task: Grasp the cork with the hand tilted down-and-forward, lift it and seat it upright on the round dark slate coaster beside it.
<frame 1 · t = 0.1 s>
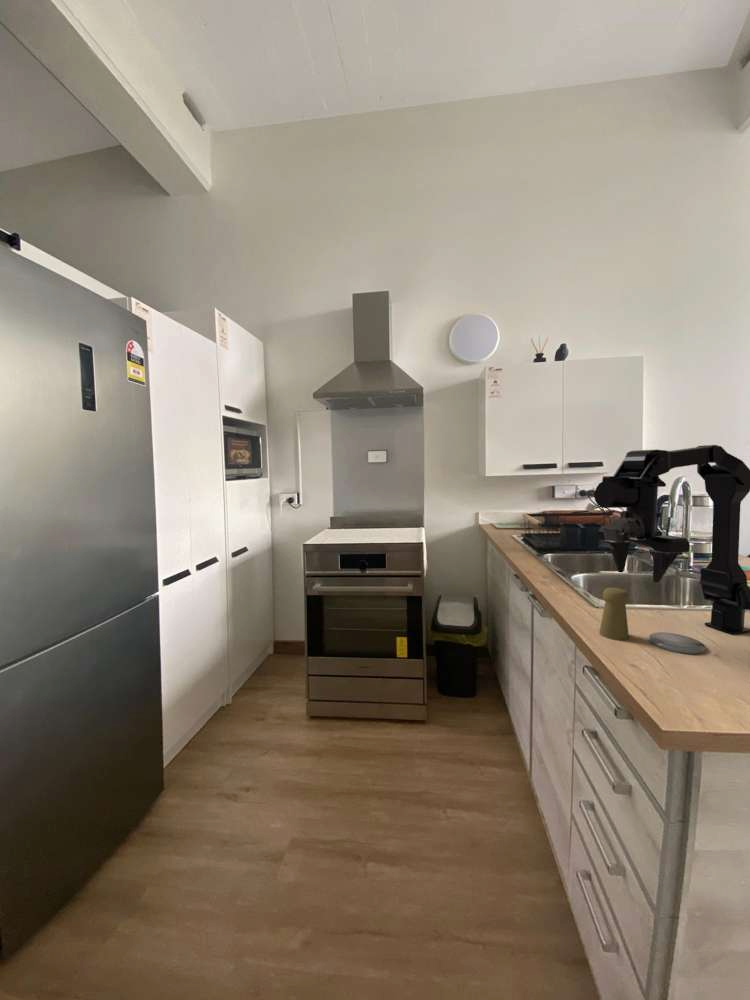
hand: (637, 577, 95), 15 cm above the table, tool pointing down, fingers open, 9 cm apart
coaster: (676, 644, 94), on the table
cork: (613, 636, 99), on the table
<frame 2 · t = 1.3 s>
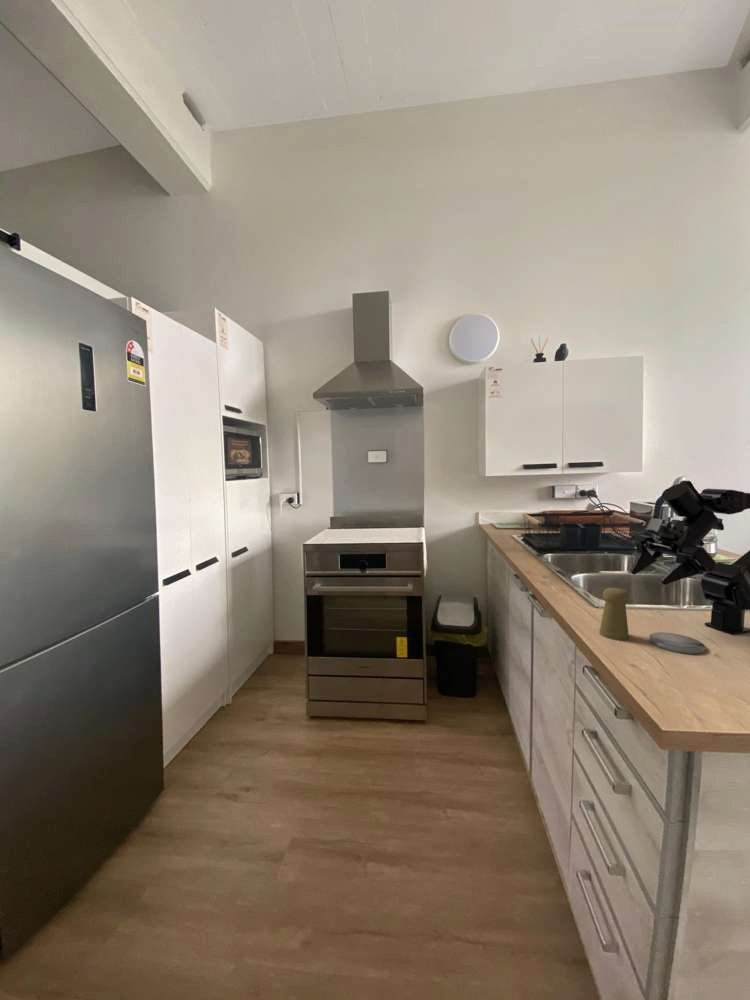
hand: (646, 578, 99), 13 cm above the table, tool tilted 45°, fingers open, 9 cm apart
nothing on the table moved.
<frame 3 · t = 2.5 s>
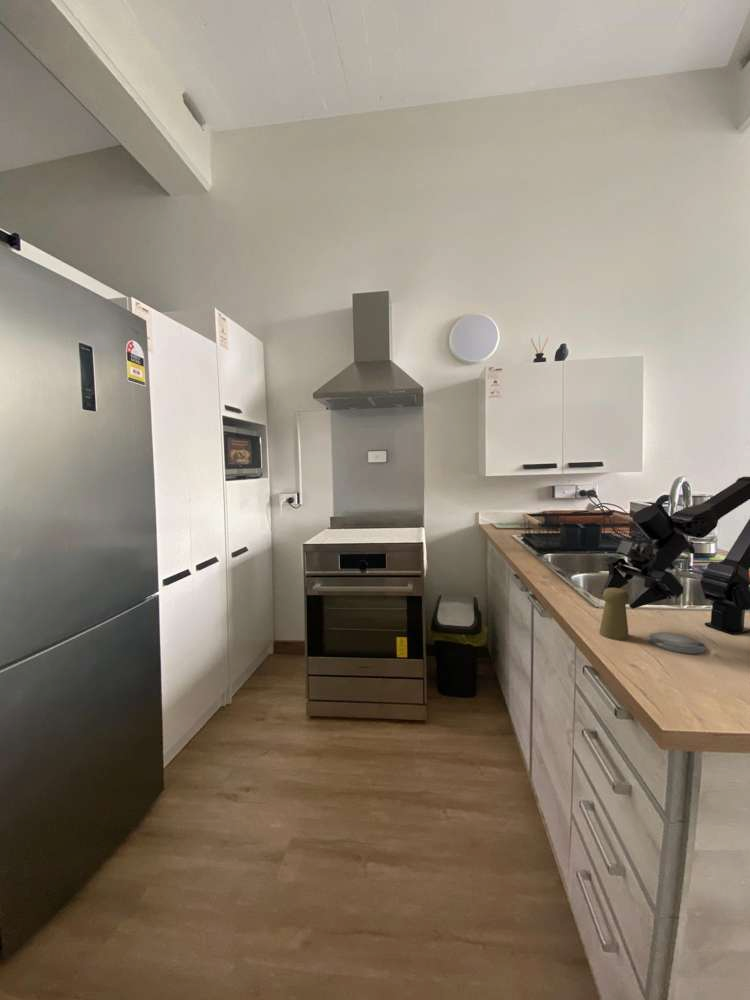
hand: (616, 600, 99), 8 cm above the table, tool tilted 45°, fingers open, 9 cm apart
nothing on the table moved.
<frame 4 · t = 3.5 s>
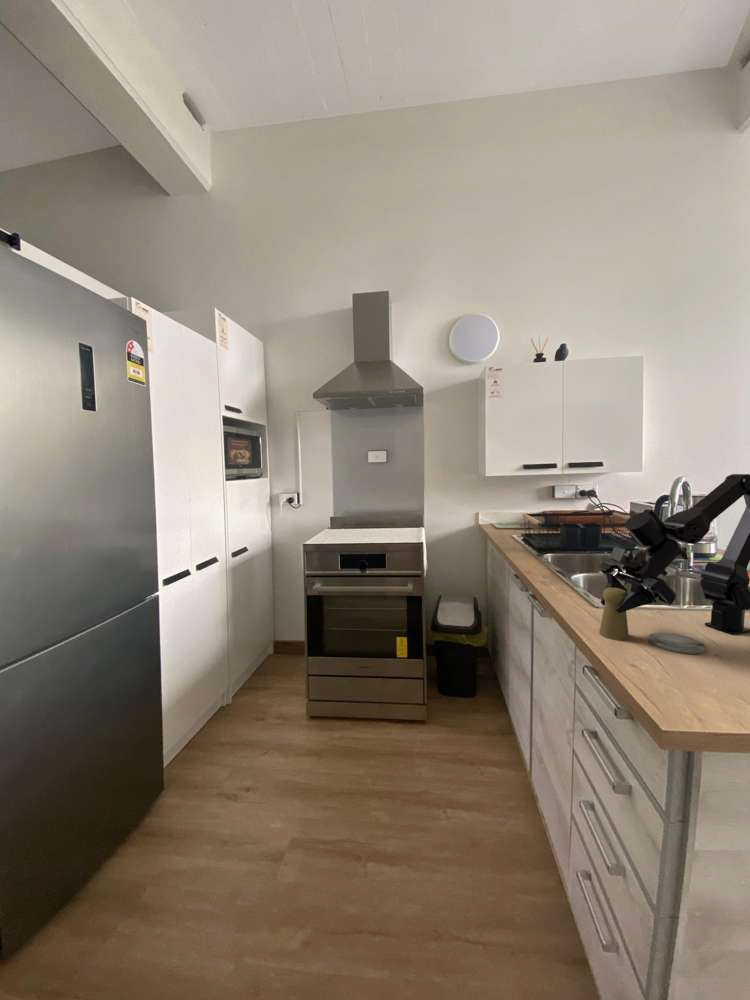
hand: (609, 607, 99), 7 cm above the table, tool tilted 45°, fingers closed on cork, 5 cm apart
cork: (613, 635, 99), on the table, touching gripper
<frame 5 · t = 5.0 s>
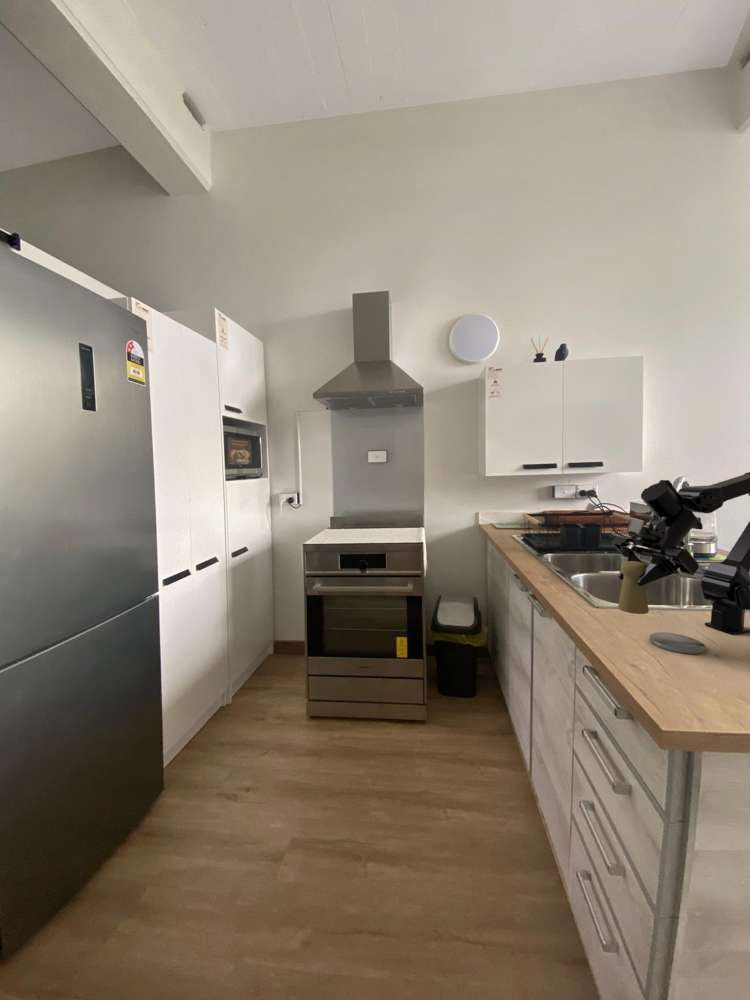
hand: (629, 581, 96), 13 cm above the table, tool tilted 45°, fingers closed on cork, 5 cm apart
cork: (633, 610, 97), point 6 cm above the table, touching gripper
when the fingers open (9 cm above the table, at t = 6.7 s): cork drops 1 cm, resting on coaster.
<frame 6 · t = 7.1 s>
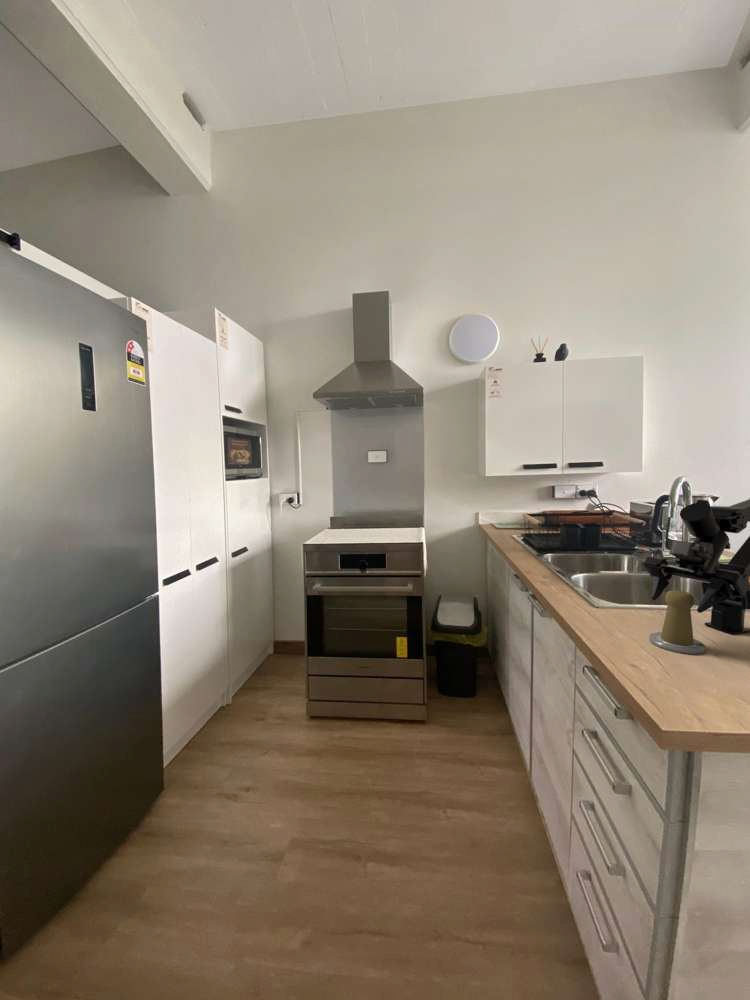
hand: (674, 605, 93), 9 cm above the table, tool tilted 45°, fingers open, 9 cm apart
cork: (676, 641, 94), point 1 cm above the table, touching coaster
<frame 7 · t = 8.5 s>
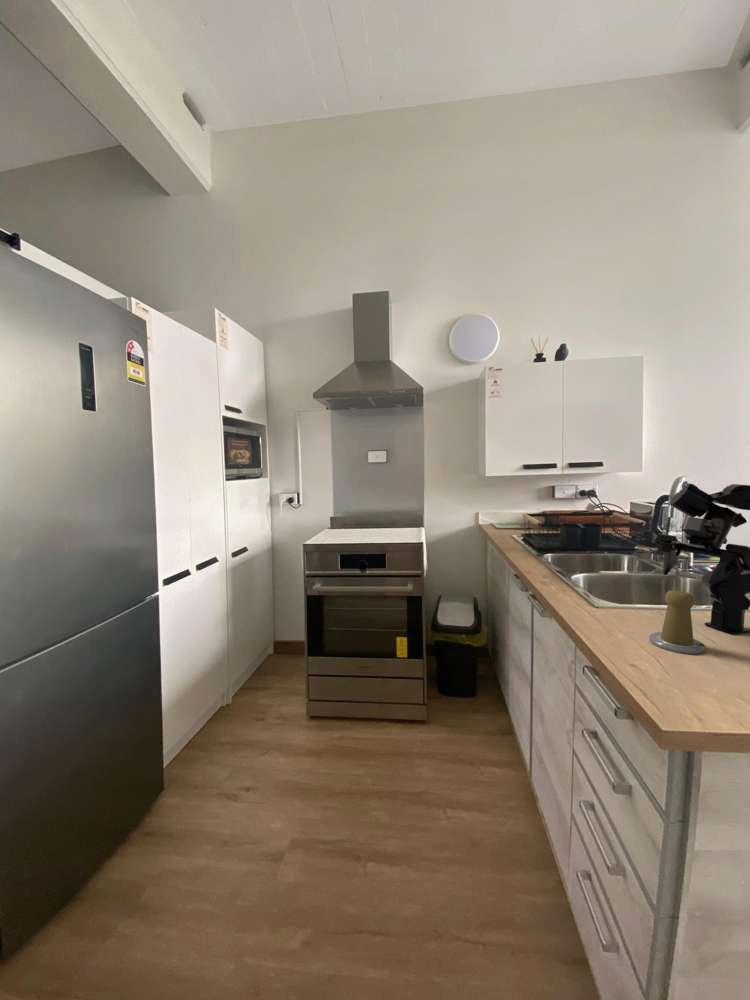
hand: (686, 578, 98), 14 cm above the table, tool tilted 45°, fingers open, 9 cm apart
nothing on the table moved.
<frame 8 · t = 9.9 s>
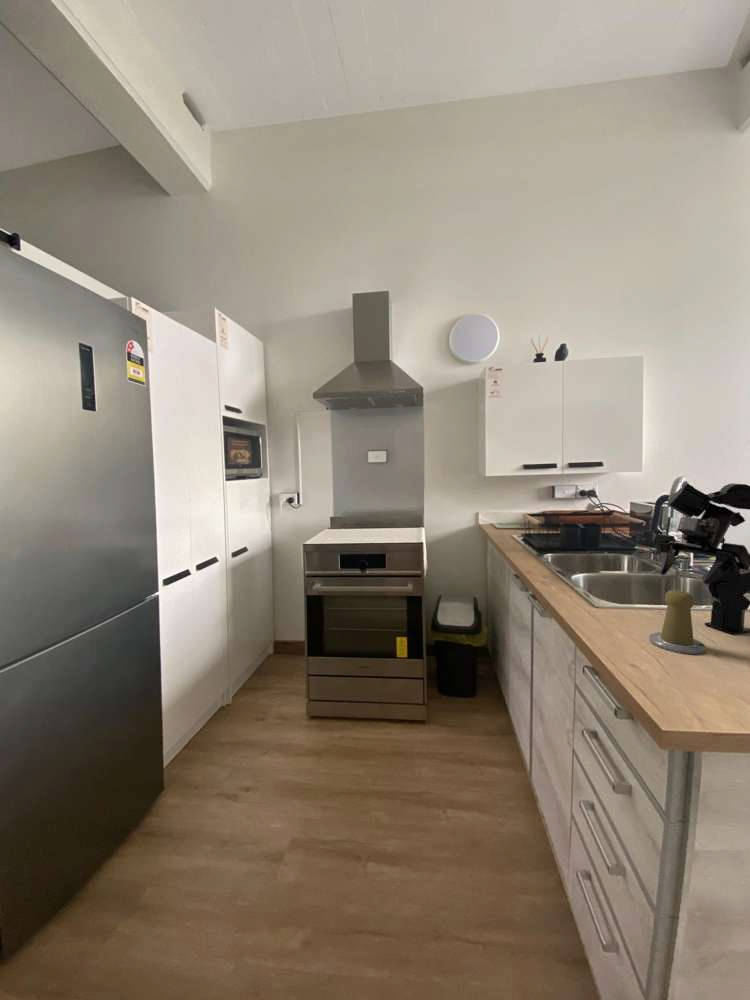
hand: (682, 578, 98), 14 cm above the table, tool tilted 45°, fingers open, 9 cm apart
nothing on the table moved.
at the end: cork 0.2 cm from the coaster (horizontally); cork tilted 0°; the gripper is holding nothing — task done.
